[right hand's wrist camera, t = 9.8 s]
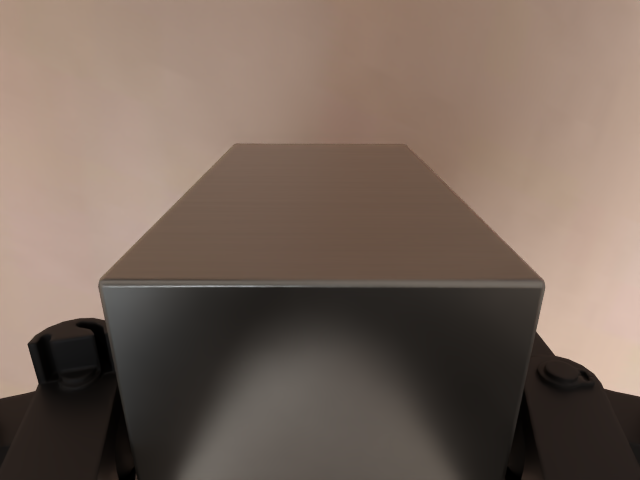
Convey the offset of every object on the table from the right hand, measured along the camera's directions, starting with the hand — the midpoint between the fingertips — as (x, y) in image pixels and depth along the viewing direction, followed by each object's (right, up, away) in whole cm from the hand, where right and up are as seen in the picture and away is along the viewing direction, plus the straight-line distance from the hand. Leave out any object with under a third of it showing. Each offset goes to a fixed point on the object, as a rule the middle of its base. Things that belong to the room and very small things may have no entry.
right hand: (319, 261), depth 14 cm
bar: (0, -8, +4) cm, 9 cm away
